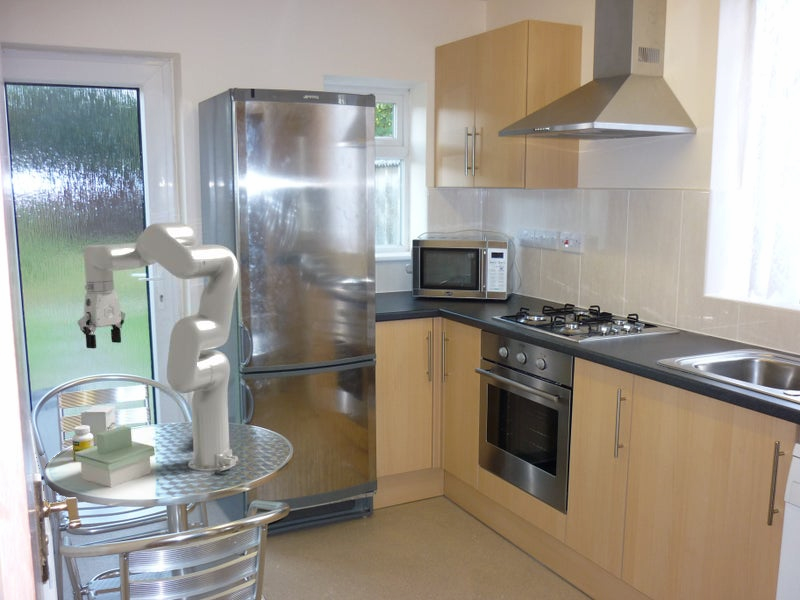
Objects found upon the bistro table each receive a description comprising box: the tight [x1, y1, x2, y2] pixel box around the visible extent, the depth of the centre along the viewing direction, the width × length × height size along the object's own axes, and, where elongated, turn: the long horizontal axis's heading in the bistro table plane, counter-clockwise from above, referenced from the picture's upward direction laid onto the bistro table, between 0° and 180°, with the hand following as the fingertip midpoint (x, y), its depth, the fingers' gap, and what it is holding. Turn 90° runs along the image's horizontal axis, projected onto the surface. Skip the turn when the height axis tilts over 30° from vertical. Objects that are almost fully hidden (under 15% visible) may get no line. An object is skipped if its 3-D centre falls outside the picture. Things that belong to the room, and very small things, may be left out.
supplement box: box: [80, 405, 117, 447], centre depth 220 cm, size 7×7×13 cm
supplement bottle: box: [71, 424, 94, 462], centre depth 211 cm, size 5×5×10 cm
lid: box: [75, 425, 156, 471], centre depth 196 cm, size 14×14×7 cm
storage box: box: [80, 457, 151, 488], centre depth 197 cm, size 12×12×7 cm
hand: (104, 345), depth 223 cm, fingers open, 9 cm apart
